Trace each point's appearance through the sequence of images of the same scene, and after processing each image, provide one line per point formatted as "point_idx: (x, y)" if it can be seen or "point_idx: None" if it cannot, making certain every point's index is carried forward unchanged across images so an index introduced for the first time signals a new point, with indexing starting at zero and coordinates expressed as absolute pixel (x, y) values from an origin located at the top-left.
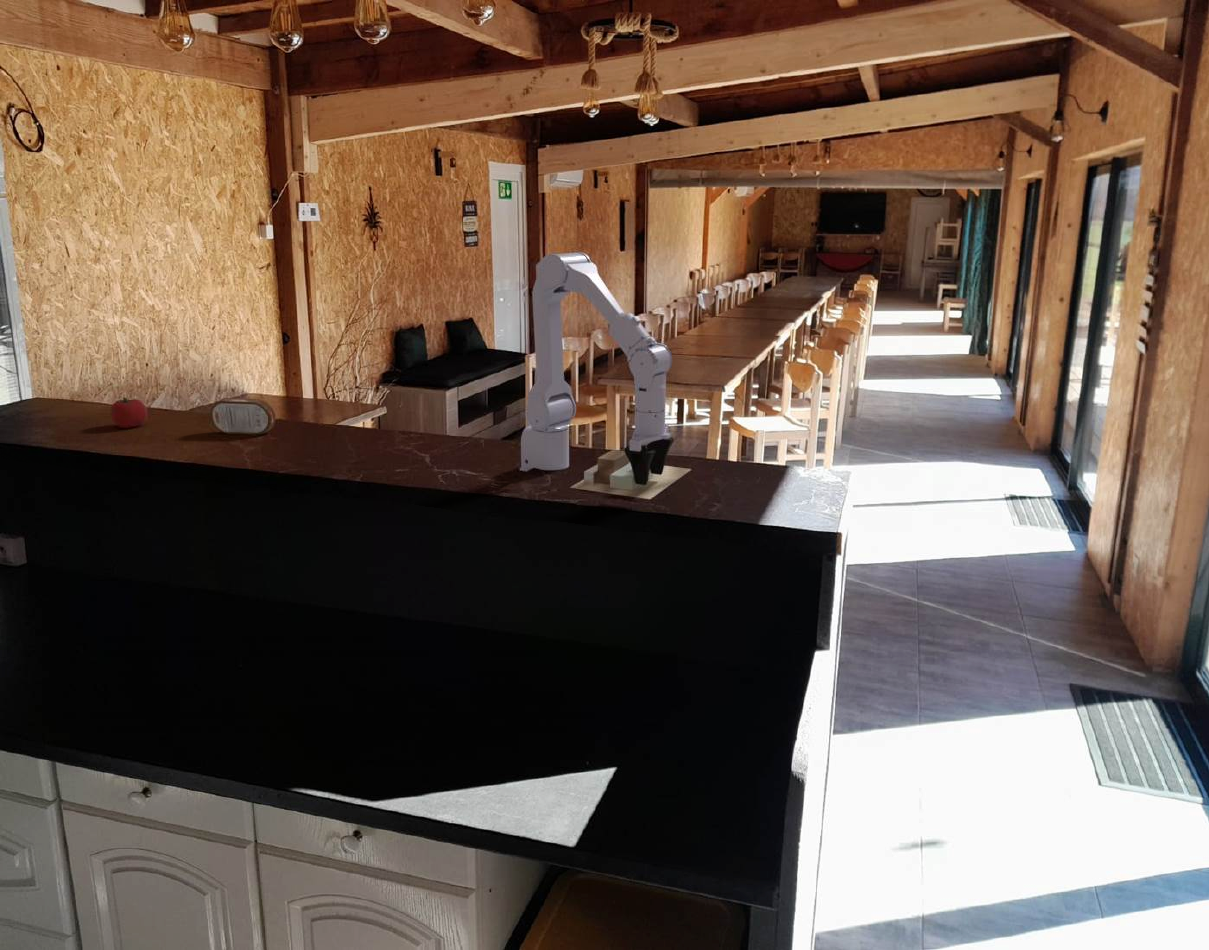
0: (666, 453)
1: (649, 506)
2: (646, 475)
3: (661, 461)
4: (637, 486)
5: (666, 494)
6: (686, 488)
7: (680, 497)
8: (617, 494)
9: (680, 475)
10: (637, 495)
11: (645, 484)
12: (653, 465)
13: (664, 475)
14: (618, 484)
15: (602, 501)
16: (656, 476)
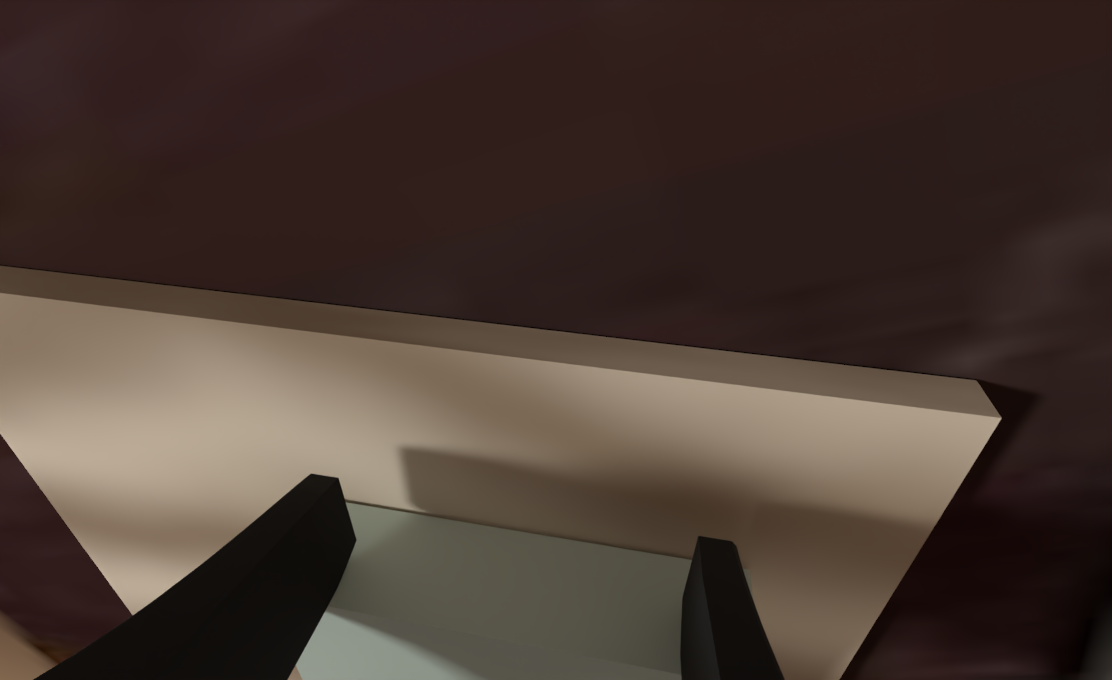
0: (120, 668)
1: (1051, 369)
2: (769, 646)
3: (250, 600)
4: (631, 554)
5: (585, 311)
6: (303, 183)
7: (630, 151)
8: (869, 630)
9: (108, 323)
10: (875, 522)
11: (736, 547)
12: (309, 600)
13: (215, 433)
14: None
15: (922, 649)
16: (281, 476)
